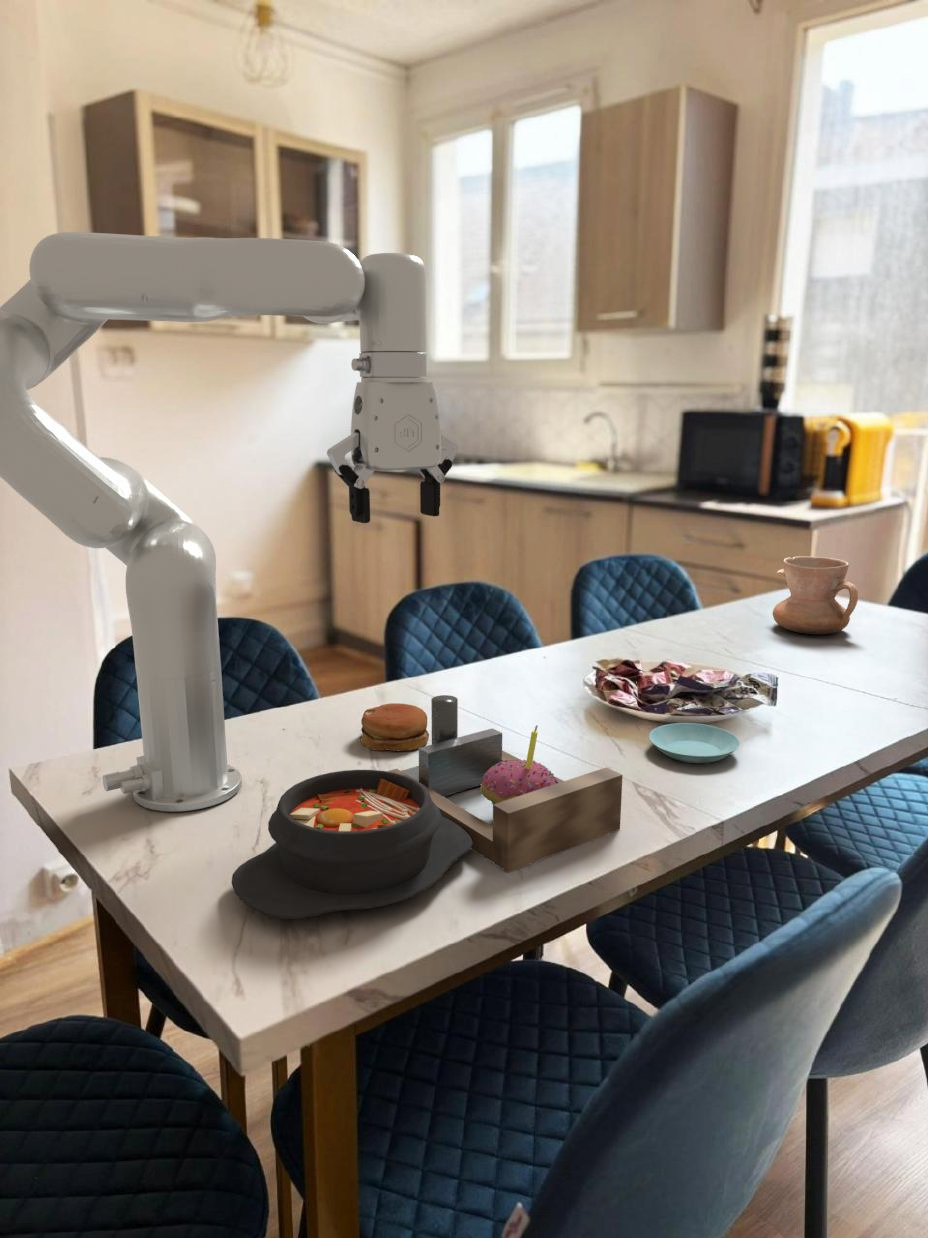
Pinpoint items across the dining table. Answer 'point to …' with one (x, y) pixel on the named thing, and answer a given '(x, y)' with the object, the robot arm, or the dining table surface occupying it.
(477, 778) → the ram
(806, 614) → the ceramic jug
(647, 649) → the dining table surface
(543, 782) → the cupcake
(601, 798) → the press bed
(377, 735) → the burger
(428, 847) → the casserole
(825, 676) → the dining table surface
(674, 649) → the dining table surface
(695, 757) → the saucer
